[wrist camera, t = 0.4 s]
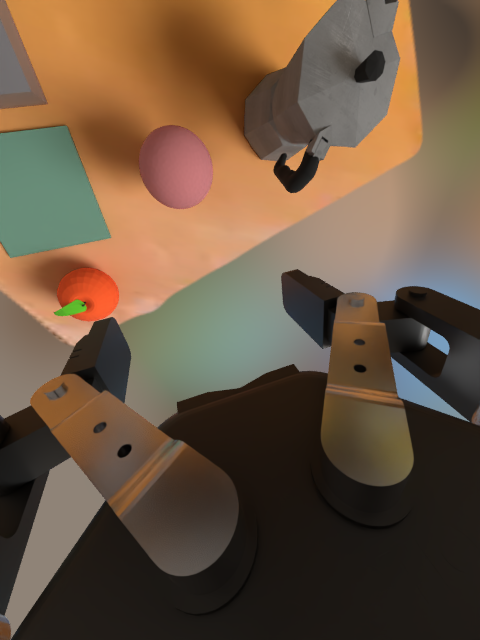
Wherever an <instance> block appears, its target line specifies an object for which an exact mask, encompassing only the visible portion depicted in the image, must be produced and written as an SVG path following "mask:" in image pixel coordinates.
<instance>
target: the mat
mask: <svg viewBox="0 0 480 640" xmlns="http://www.w3.org/2000/svg"><path fill="white" fill-rule="evenodd" d="M108 238H111V235H110V233H109V230H108V228H107V225H106V223H105V220H104V218H103V215H102V213H101V210H100V208H99V205H98V203H97V200H96V198H95V195H94V193H93V190H92V187H91V185H90V182H89V180H88V177H87V175H86V172H85V170H84V167H83V165H82V162H81V160H80V157H79V155H78V152H77V150H76V147H75V144H74V142H73V139H72V137H71V134H70V132H69V129H68V127H67V126H59V127H50V128H42V129H34V130H25V131H17V132H9V133H0V241H1V243H2V245H3V246H4V248H5V250H6V251H7V253H8V254H9V256H10V258H13V257H18V256H23V255H28V254H33V253H38V252H43V251H48V250H53V249H58V248H63V247H68V246H73V245H78V244H83V243H88V242H93V241H98V240H103V239H108Z"/></svg>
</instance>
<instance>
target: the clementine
mask: <svg viewBox="0 0 480 640" xmlns="http://www.w3.org/2000/svg"><path fill="white" fill-rule="evenodd" d="M57 297H58V300H59V303H60V305H61V307H62V309H60V310H58V311H56V312H54V314H55V315H58V316H68V315H70V316H72V317H74V318H76V319H79V320H83V321H96V320H99V319H103V318H105V317H107V316H108V315H110V314H111V313H112V312H113V311H114V309H115V308H116V306H117V304H118V300H119V292H118V287H117V285H116V283H115V282H114V281H113V279H112V278H111V277H110V276H108V275H107V274H106V273H104V272H102V271H100V270H97V269H93V268H80V269H77V270H74V271H71V272H70V273H68V274H66V275H65V276H64V277H63V279H62V280H61V281H60V284H59V286H58V289H57Z"/></svg>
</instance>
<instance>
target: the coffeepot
mask: <svg viewBox="0 0 480 640" xmlns="http://www.w3.org/2000/svg"><path fill="white" fill-rule="evenodd" d="M398 3H399V2H398V0H337V1H336V2H335V3H334V4H333V5H332V6H331V8H330V9H329V10H328V11H327V12H326V13H325V15H324V16H323V17H322V18H321V19H320V20H319V22H318V23H317V24H316V25H315V26H314V27H313V29H312V30H311V31H310V32H309V33H308V35H307V36H306V37H305V38H304V40H303V41H302V43H301V45H300V46H299V48H298V49H297V51H296V53H295V54H294V56H293V57H292V59H291V60H290V62H289V64H288V65H287V67H285V68H283V69H280V70H278V71H276V72H273V73H271V74H268V75H266V76H265V77H264V79H263V80H262V81H261V82H260V83H259V84H258V86H257V87H256V88H255V89H254V90H253V91H252V92H251V94H250V95H249V96H248V97H247V98H246V99H245V115H244V126H245V129H244V136H245V137H246V138H247V140H248V141H249V143H250V145H251V147H252V148H253V149H254V151H255V152H256V153H257V154H258V156H259V157H260V159H261V160H271V161H277V162H276V164H275V166H274V174H275V175H276V177H277V178H278V179H279V180H280V182H281V183H282V184H283V186H284V187H285V188H286V190H287V191H288V192H290V193H297V192H299V191H300V190H302V189H303V188H304V187H305V186H306V185H307V184H308V183H309V182H310V180H311V179H312V178H313V177H314V175H315V173H316V171H317V168H318V164H319V160H324V158H325V156H326V153H327V151H328V149H329V147H330V146H344V147H356V146H357V145H358V144H359V143H360V142H361V141H362V140H363V139H364V138H365V137H366V136H367V135H368V134H369V133H370V132H371V131H372V130H373V128H374V127H375V126H376V125H377V124H378V123H379V122H380V121H381V120H382V119H383V118H384V117H385V116H386V115H387V112H388V107H389V103H390V99H391V95H392V91H393V86H394V82H395V78H396V74H397V70H398V66H399V61H400V57H399V53H398V50H397V47H396V43H395V40H394V37H393V34H392V29H393V24H394V20H395V16H396V11H397V7H398ZM307 145H308V146H307ZM306 146H307V149H306V151H305V154H304V157H303V159H302V162H301V164H300V166H299V168H298V169H297V170H296V171H293V170H290V168H289V167H288V166H287V165H285V162H286V160H288V159H289V158H290V157H292V156H293V155H295V154H296V153H298V152H299V151H300V150H302V149H303V148H305V147H306Z"/></svg>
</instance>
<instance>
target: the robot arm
mask: <svg viewBox="0 0 480 640" xmlns="http://www.w3.org/2000/svg"><path fill="white" fill-rule="evenodd" d="M281 281H282V294H283V305H284V308H285V310H286V312H287V313H288V315H290V316H291V318H293V320H294V321H296V322H297V323H298V324H299V326H301V327H302V329H303V330H304V331H305V332H306V333H307V334H308V335H309V336H310V337H311V338H312V339H313V340H314V341H315V342H316V343H317V344H318V345H319V346H320V347H321V348H322V349H324V348H327V347H330V346H331V353H330V362H329V372H328V373H323V372H316V371H302V372H299V370H298V369H297V368H296V367H295V365H294V364H292V365H289V366H286V367H283V368H280V369H277V370H274V371H271V372H268V373H266V374H264V375H262V376H260V377H259V378H257V379H255V380H253V381H252V382H250V383H248V384H246V385H245V386H243V387H241V388H237V389H230V390H222V391H214V392H207V393H204V394H201V395H198V396H195V397H192V398H189V399H186V400H183V401H180V402H177V410H178V412H177V413H176V414H174V415H173V416H171V417H170V418H168V419H167V420H165V422H163V423H162V424H161V425H160V426H159V427H158V428H157V427H155V426H154V425H152V424H151V423H150V422H148V421H147V420H146V419H144V418H143V417H142V416H140V415H139V414H138V413H136V412H135V411H134V410H132V409H131V408H130V407H128V406H127V405H126V404H124V402H125V395H126V388H127V382H128V375H129V368H130V361H131V353H130V349H129V346H128V344H127V342H126V340H125V338H124V336H123V333H122V332H121V330H120V327H119V325H118V323H117V321H116V320H115V318H113V317H111V318H107V319H103V320H99V321H95V322H94V323H93V326H92V328H91V330H90V332H89V334H88V335H85V336H84V337H83V338H82V339H81V340H80V341H79V342H78V343H76V345H75V347H74V350H73V353H71V355H70V359H68V361H67V363H66V365H65V368H64V369H63V372H62V374H61V376H59V377H57V378H54V379H52V380H50V381H49V382H47V383H46V384H44V385H43V386H41V387H40V388H39V389H38V390H37V391H36V392H35V393H34V395H33V396H32V398H31V400H30V404H31V406H29V407H27V408H25V409H23V410H21V411H19V412H17V413H15V414H13V415H11V416H9V417H7V418H5V419H4V418H2V417H1V415H0V640H10V639H11V627H10V623H9V620H8V619H7V618H6V617H5V616H4V615H5V612H6V609H7V606H8V603H9V599H10V596H11V593H12V590H13V587H14V583H15V580H16V577H17V574H18V570H19V567H20V564H21V561H22V558H23V554H24V551H25V548H26V545H27V542H28V539H29V535H30V532H31V529H32V526H33V522H34V519H35V516H36V513H37V510H38V506H39V503H40V500H41V497H42V494H43V490H44V487H45V484H46V481H47V477H48V474H49V470H50V469H52V468H53V467H55V466H57V465H58V464H60V463H62V462H63V461H65V460H67V459H68V458H70V457H72V458H73V460H74V461H75V462H76V463H77V465H78V466H79V467H80V468H81V470H82V471H83V472H84V473H85V475H86V476H87V477H88V478H89V480H90V481H91V482H92V483H93V485H94V486H95V487H96V489H97V490H98V491H99V492H100V493H101V495H102V496H103V497H104V499H105V502H104V503H103V505H102V506H101V508H100V509H99V511H98V512H97V514H96V515H95V516H94V518H93V519H92V521H91V523H90V524H89V525H88V527H87V528H86V530H85V531H84V533H83V534H82V535H81V537H80V538H79V540H78V542H77V543H76V544H75V546H74V547H73V549H72V550H71V552H70V553H69V554H68V556H67V558H66V559H65V560H64V562H63V563H62V565H61V566H60V568H59V569H58V571H57V572H56V573H55V575H54V576H53V578H52V579H51V581H50V582H49V584H48V585H47V587H46V588H45V590H44V591H43V592H42V594H41V595H40V597H39V598H38V600H37V601H36V603H35V604H34V606H33V607H32V609H31V610H30V611H29V613H28V614H27V616H26V617H25V619H24V620H23V622H22V623H21V625H20V626H19V628H18V629H17V631H16V632H15V634H14V635H13V637H12V639H11V640H480V310H479V309H477V308H474V307H472V306H469V305H467V304H465V303H463V302H460V301H458V300H456V299H453V298H451V297H449V296H446V295H444V294H442V293H439V292H437V291H435V290H432V289H429V288H425V287H418V286H410V287H403V288H400V289H398V290H397V291H396V296H395V300H394V301H384V302H377V301H376V299H375V298H374V297H373V296H371V295H369V294H365V293H358V292H352V293H346V294H345V293H343V292H341V291H340V290H338V289H336V288H334V287H333V286H331V285H329V284H328V283H325V282H324V281H323V280H321V279H319V278H316V277H312V276H308V275H306V274H304V273H303V272H301V271H300V270H298V269H297V270H292V271H288V272H285V273H282V276H281ZM430 330H433V331H435V332H436V333H438V334H440V335H441V336H443V337H444V338H445V339H446V340H447V341H448V343H449V347H450V350H449V353H448V355H446V354H445V353H443V352H442V351H440V350H439V349H437V348H435V347H434V346H432V345H431V344H429V343H428V342H427V340H428V337H429V334H430ZM391 357H392V358H393V359H394V360H396V361H397V362H398V363H399V364H400V365H402V366H403V367H404V368H406V369H407V370H408V371H409V372H410V373H411V374H413V375H414V376H415V377H416V378H417V379H419V380H420V381H421V382H422V383H423V384H425V385H426V386H427V387H428V388H430V389H431V390H432V391H433V392H434V393H436V394H437V395H438V396H440V397H441V398H442V399H443V400H444V401H445V402H447V403H448V404H449V405H450V406H451V407H453V408H454V409H455V410H456V411H457V412H459V413H460V414H461V415H462V416H464V417H465V418H466V419H467V420H469V421H470V422H468V421H465V420H462V419H459V418H456V417H453V416H450V415H447V414H445V413H442V412H439V411H436V410H433V409H430V408H427V407H424V406H422V405H418V404H416V403H413V402H410V401H407V400H404V399H401V398H399V397H398V394H397V389H396V383H395V378H394V372H393V366H392V361H391Z"/></svg>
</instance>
